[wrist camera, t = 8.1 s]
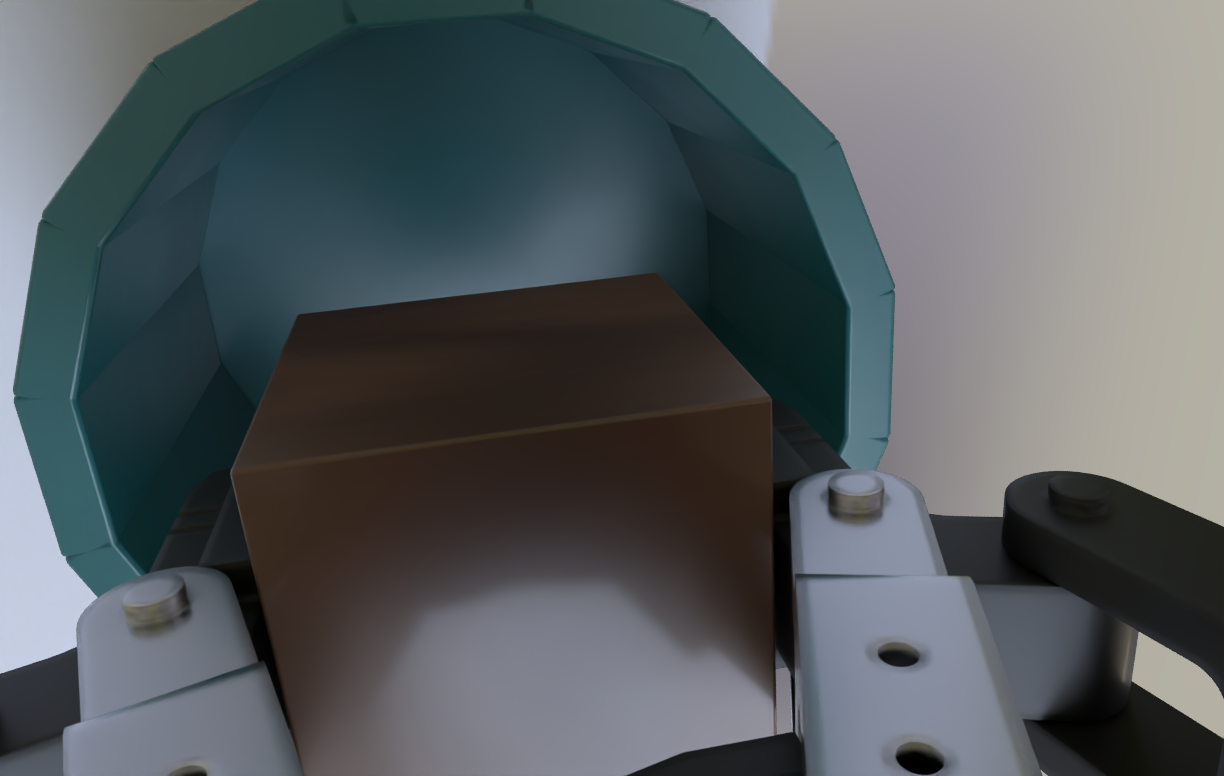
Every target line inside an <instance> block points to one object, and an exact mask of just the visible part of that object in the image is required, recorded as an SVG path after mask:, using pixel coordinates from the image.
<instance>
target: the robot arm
mask: <svg viewBox="0 0 1224 776" xmlns="http://www.w3.org/2000/svg"><path fill="white" fill-rule="evenodd" d="M771 399H772V398H771ZM772 441H773V512H774V583H775V653H776V669H778V668H784V667H787V668H788V669H789V671H790V673H791V726H792V732H790V733H785V734H780V735H774V736H768V737H763V738H758V739H752V740H747V741H742V742H736V743H731V744H726V745H720V746H715V747H709V748H704V749H699V750H693V751H688V752H683V753H680V754H678V755H675V756H673V757H670V758H668V759H666V760H663V761H661V762H658V763H656V764H653V765H651V766H648V767H646V768H643V769H641V770H638V771H636V772H633V773H631V774H628V775H626V776H1042V773H1041V770H1042V771H1043V772H1044V773H1046V774H1047V775H1048V776H1224V739H1223V738H1221V737H1220V736H1218V735H1217V734H1215V733H1213V732H1212V731H1210V730H1209V729H1207V728H1205V727H1204V726H1202V725H1201V724H1199V723H1197V722H1196V721H1194V720H1193V719H1191V718H1189V717H1188V716H1186V715H1185V714H1183V713H1182V712H1180V711H1178V710H1177V709H1175V708H1174V707H1172V706H1170V705H1169V704H1167V703H1166V702H1164V701H1162V700H1161V699H1159V698H1157V697H1156V696H1154V695H1153V694H1151V693H1150V692H1148V691H1146V690H1145V689H1143V688H1142V687H1140V686H1138V685H1137V684H1135V683H1134V682H1132V673H1133V666H1134V660H1135V653H1136V646H1137V639H1138V632H1141V633H1143V634H1145V635H1146V636H1148V637H1150V638H1151V639H1153V640H1155V641H1157V642H1159V643H1160V644H1162V645H1164V646H1165V647H1167V648H1169V649H1171V650H1172V651H1174V652H1176V653H1177V654H1179V655H1181V656H1183V657H1185V658H1186V659H1188V660H1190V661H1191V662H1193V663H1195V664H1196V665H1198V666H1199V667H1200V668H1202V669H1203V670H1204V671H1205V672H1206V673H1207V674H1208V675H1209V676H1210V677H1211V678H1212V679H1213V681H1214V682H1215V683H1216V685H1217V686H1218V688H1219V690H1220V692H1221V693H1222V696H1223V698H1224V527H1223V526H1221V525H1218V524H1216V523H1214V522H1212V521H1209V520H1207V519H1204V518H1202V517H1200V516H1198V515H1195V514H1193V513H1191V512H1189V511H1186V510H1184V509H1181V508H1179V507H1177V506H1175V505H1172V504H1170V503H1168V502H1166V501H1163V500H1161V499H1159V498H1156V497H1154V496H1152V495H1150V494H1147V493H1145V492H1143V491H1140V490H1138V489H1136V488H1133V487H1131V486H1129V485H1127V484H1124V483H1121V482H1119V481H1116V480H1113V479H1110V478H1107V477H1102V476H1098V475H1093V474H1087V473H1081V472H1070V471H1049V472H1040V473H1033V474H1030V475H1026V476H1023V477H1021V478H1018V479H1016V480H1015V481H1013V482H1012V483H1010V485H1009V486H1008V487H1007V488H1006V491H1005V498H1004V510H1003V517H969V516H942V515H934V514H929V513H928V510H927V507H926V504H925V501H924V498H923V496H922V494H921V492H920V491H919V490H918V489H917V488H916V487H915V486H913V485H912V484H911V483H909V482H907V481H906V480H904V479H902V478H899V477H897V476H894V475H890V474H887V473H883V472H878V471H873V470H865V469H851V467H850V466H849V465H848V464H847V463H846V462H845V461H844V460H843V459H842V458H841V457H840V456H839V455H838V454H837V453H836V452H835V451H834V450H833V448H832V447H831V446H830V445H829V444H828V443H827V442H826V441H823V440H822V437H821V436H820V435H819V434H818V433H817V432H816V431H815V429H814V428H810V424H809V423H808V422H807V421H806V420H805V419H804V418H803V417H802V416H801V415H800V414H799V413H798V412H797V410H796V409H795V408H793V407H790V406H788V405H786V404H783V403H781V402H779V401H776V400H774V399H772ZM231 469H232V468H231ZM231 469H224V470H216V471H215V472H213V473H212V474H211V475H209V476H208V477H207V478H206V479H204V480H203V481H202V482H201V483H199V484H198V485H197V486H195V487H194V488H193V489H192V490H190V491H189V493H188V495H187V497H186V499H185V501H184V503H183V505H182V507H181V509H180V511H179V517H176V519H175V521H174V523H173V525H172V527H171V529H170V535H167V537H166V539H165V541H164V543H163V545H162V547H161V549H160V551H159V554H158V556H157V558H156V560H155V562H154V564H153V566H152V568H151V570H150V572H149V573H148V574H145V575H142V576H139V577H136V578H134V579H132V580H129V581H127V582H124V583H122V584H120V585H118V586H116V587H114V588H113V589H111V590H109V591H108V592H106V593H104V594H103V595H101V596H100V597H99V598H97V599H96V600H95V601H93V602H92V603H91V604H90V605H89V606H88V607H87V608H86V609H85V610H84V612H83V613H82V614H81V616H80V618H79V620H78V622H77V628H76V632H77V647H76V648H73V649H71V650H69V651H66V652H64V653H62V654H59V655H56V656H53V657H51V658H48V659H45V660H42V661H39V662H36V663H32V664H29V665H26V666H23V667H20V668H17V669H14V670H11V671H8V672H5V673H2V674H0V776H305V775H304V772H303V769H302V766H301V763H300V760H299V757H298V755H297V752H296V749H295V746H294V742H293V738H292V734H291V730H290V725H289V721H288V717H287V713H286V708H285V704H284V700H283V696H282V691H281V687H280V683H279V679H278V674H277V670H276V666H275V662H274V658H273V653H272V649H271V645H270V641H269V636H268V632H267V628H266V624H265V619H264V615H263V611H262V607H261V602H260V598H259V594H258V590H257V586H256V581H255V577H254V573H253V569H252V564H251V560H250V556H249V552H248V547H247V543H246V539H245V535H244V530H243V526H242V522H241V518H240V514H239V509H238V505H237V501H236V497H235V492H234V488H233V484H232V480H231V475H230V472H231Z"/></svg>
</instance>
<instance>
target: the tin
mask: <svg viewBox="0 0 1224 776" xmlns="http://www.w3.org/2000/svg"><path fill="white" fill-rule="evenodd" d="M42 218H43V219H41V221H40V222H39V223H38V229H37V235H36V242H35V248H34V255H33V261H32V268H31V274H30V281H29V287H28V294H27V300H26V307H25V314H24V320H23V327H22V333H21V340H20V346H19V353H18V359H17V366H16V372H15V379H14V385H13V392H14V395H16V396H15V397H14V404H15V407H16V411H17V414H18V417H19V420H20V423H21V426H22V430H23V433H24V436H25V439H26V442H27V446H28V449H29V452H30V455H31V458H32V461H33V465H34V468H35V471H36V474H37V477H38V480H39V484H40V487H41V490H42V493H43V496H44V500H45V503H46V506H47V509H48V512H49V515H50V519H51V522H52V525H53V528H54V531H55V534H56V538H57V541H58V544H59V547H60V550H61V554H62V555H63V556H66V561H67V563H68V564H69V565H70V567H71V568H72V569H73V570H74V571H75V572H76V573H77V574H78V576H79V577H80V578H81V579H82V580H83V581H84V582H85V583H86V585H87V586H88V587H89V588H90V589H91V590H92V591H93V593H94V594H95V595H96V596H97V597H98V598H99V597H100V596H101V595H103V594H104V593H106V592H108V591H109V590H111V589H113V588H114V587H116V586H118V585H120V584H122V583H124V582H127V581H129V580H132V579H134V578H136V577H139V576H142V575H145V574H148V573H149V572H150V570H151V568H152V566H153V564H154V562H155V560H156V558H157V556H158V554H159V551H160V549H161V547H162V545H163V543H164V541H165V539H166V537H167V535H170V529H171V527H172V525H173V523H174V521H175V519H176V517H179V511H180V509H181V507H182V505H183V503H184V501H185V499H186V497H187V495H188V493H189V491H190V490H192V489H193V488H194V487H195V486H197V485H198V484H199V483H201V482H202V481H203V480H204V479H206V478H207V477H208V476H209V475H211V474H212V473H213V472H215V471H216V470H224V469H231V468H232V466H233V464H234V462H235V459H236V457H237V455H238V452H239V450H240V448H241V445H242V443H243V441H244V438H245V436H246V434H247V431H248V429H249V427H250V424H251V422H252V420H253V417H254V415H255V413H256V410H257V408H258V406H259V403H260V401H261V399H262V396H263V394H264V392H265V389H266V387H267V385H268V382H269V380H270V378H271V375H272V373H273V371H274V368H275V366H276V364H277V361H278V359H279V357H280V354H281V352H282V350H283V347H284V345H285V343H286V340H287V338H288V336H289V333H290V331H291V329H292V326H293V324H294V322H295V319H296V317H297V315H299V314H305V313H314V312H322V311H331V310H340V309H348V308H357V307H365V306H374V305H383V304H391V303H400V302H408V301H417V300H426V299H434V298H443V297H452V296H460V295H469V294H477V293H486V292H495V291H503V290H512V289H520V288H529V287H538V286H546V285H555V284H563V283H572V282H581V281H589V280H598V279H606V278H615V277H624V276H632V275H641V274H650V273H658V274H659V275H660V276H661V277H662V278H663V279H664V280H665V281H666V282H667V283H668V285H669V286H670V287H671V288H672V289H673V290H674V291H675V292H676V293H677V294H678V296H679V297H680V298H681V299H682V300H683V301H684V302H685V303H686V304H687V305H688V307H689V308H690V309H691V310H692V311H693V312H694V313H695V314H696V315H697V316H698V317H699V319H700V320H701V321H702V322H703V323H704V324H705V325H706V326H707V327H708V328H709V330H710V331H711V332H712V333H713V334H714V335H715V336H716V337H717V338H718V339H719V341H720V342H721V343H722V344H723V345H724V346H725V347H726V348H727V349H728V350H729V352H730V353H731V354H732V355H733V356H734V357H735V358H736V359H737V360H738V361H739V362H740V364H741V365H742V366H743V367H744V368H745V369H746V370H747V371H748V372H749V373H750V375H751V376H752V377H753V378H754V379H755V380H756V381H757V382H758V383H759V384H760V386H761V387H762V388H763V389H764V390H765V391H766V392H767V393H768V394H769V395H770V397H771V398H772V399H774V400H776V401H779V402H781V403H783V404H786V405H788V406H790V407H793V408H795V409H796V410H797V412H798V413H799V414H800V415H801V416H802V417H803V418H804V419H805V420H806V421H807V422H808V423H809V424H810V428H814V429H815V431H816V432H817V433H818V434H819V435H820V436H821V437H822V440H823V441H826V442H827V443H828V444H829V445H830V446H831V447H832V448H833V450H834V451H835V452H836V453H837V454H838V455H839V456H840V457H841V458H842V459H843V460H844V461H845V462H846V463H847V464H848V465H849V466H850V467H851V469H865V470H873V471H876V469H877V467H878V465H879V463H880V460H881V458H882V456H883V453H884V451H885V449H886V447H887V444H888V438H887V437H889V435H890V422H891V393H892V363H893V334H894V307H895V306H894V305H895V292H894V291H893V289H894V288H895V285H894V282H893V279H892V277H891V274H890V271H889V269H888V266H887V264H886V261H885V259H884V256H883V253H882V251H881V248H880V246H879V243H878V241H877V238H876V235H875V233H874V230H873V228H872V225H871V223H870V220H869V217H868V215H867V212H866V210H865V207H864V204H863V202H862V199H861V197H860V194H859V192H858V189H857V186H856V184H855V182H854V179H853V176H852V173H851V171H850V168H849V166H848V163H847V161H846V158H845V156H844V153H843V150H842V148H841V146H840V143H839V141H838V140H836V139H835V136H834V134H833V133H832V132H831V131H830V130H829V129H828V128H827V127H826V126H825V125H824V124H823V123H822V122H821V121H820V120H819V119H818V118H817V117H815V115H813V113H811V111H810V110H808V108H806V107H805V106H804V105H803V104H802V103H801V102H800V101H799V100H798V99H797V98H796V97H795V96H794V95H793V94H792V93H791V92H790V91H789V90H788V89H787V88H786V87H785V86H784V85H783V84H782V83H781V82H780V81H779V80H778V79H777V78H776V77H775V76H774V75H773V74H772V73H771V72H770V71H769V70H768V69H767V68H766V67H765V66H764V65H763V64H762V63H761V62H760V61H759V60H758V59H757V58H756V57H755V56H754V55H753V54H752V53H751V52H750V51H749V50H748V49H747V48H746V47H745V46H744V45H743V44H742V43H741V42H740V41H739V40H738V39H737V38H736V37H735V36H734V35H733V34H732V33H731V32H730V31H729V30H728V29H727V28H726V27H725V26H724V25H723V24H722V23H721V22H720V21H719V20H718V19H717V18H714V17H710V15H709V14H708V13H707V12H704V11H701V10H699V9H696V8H693V7H691V6H688V5H685V4H683V3H680V2H677V1H674V0H258V1H256V2H255V3H253V4H251V5H249V6H247V7H245V8H244V9H242V10H240V11H238V12H236V13H234V14H233V15H231V16H229V17H227V18H225V19H223V20H222V21H220V22H218V23H216V24H214V25H212V26H211V27H209V28H207V29H205V30H203V31H201V32H200V33H198V34H196V35H194V36H192V37H190V38H189V39H187V40H185V41H183V42H181V43H179V44H178V45H176V46H174V47H172V48H170V49H168V50H167V51H165V52H163V53H161V54H159V55H158V56H156V57H154V59H153V62H151V63H149V64H148V65H147V66H146V67H145V69H144V70H143V72H142V73H141V74H140V76H139V77H138V79H137V80H136V82H135V83H134V84H133V86H132V87H131V89H130V90H129V91H128V93H127V94H126V96H125V97H124V98H123V100H122V101H121V103H120V104H119V105H118V107H117V108H116V110H115V111H114V112H113V114H112V115H111V117H110V118H109V119H108V121H107V122H106V124H105V125H104V126H103V128H102V129H101V131H100V132H99V133H98V135H97V136H96V138H95V139H94V140H93V142H92V143H91V145H90V146H89V148H88V149H87V150H86V152H85V153H84V155H83V156H82V157H81V159H80V160H79V162H78V163H77V164H76V166H75V167H74V169H73V170H72V171H71V173H70V174H69V176H68V177H67V178H66V180H65V181H64V183H63V184H62V185H61V187H60V188H59V190H58V191H57V192H56V194H55V195H54V197H53V198H52V199H51V201H50V202H49V204H48V205H47V206H46V208H45V209H44V211H43V213H42Z"/></svg>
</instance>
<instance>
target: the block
mask: <svg viewBox="0 0 1224 776" xmlns="http://www.w3.org/2000/svg"><path fill="white" fill-rule="evenodd" d="M230 475H231V480H232V484H233V488H234V492H235V497H236V501H237V505H238V509H239V514H240V518H241V522H242V526H243V530H244V535H245V539H246V543H247V547H248V552H249V556H250V560H251V564H252V569H253V573H254V577H255V581H256V586H257V590H258V594H259V598H260V602H261V607H262V611H263V615H264V619H265V624H266V628H267V632H268V636H269V641H270V645H271V649H272V653H273V658H274V662H275V666H276V670H277V674H278V679H279V683H280V687H281V691H282V696H283V700H284V704H285V708H286V713H287V717H288V721H289V725H290V730H291V734H292V738H293V742H294V746H295V749H296V752H297V755H298V757H299V760H300V763H301V766H302V769H303V772H304V775H305V776H626V775H628V774H631V773H633V772H636V771H638V770H641V769H643V768H646V767H648V766H651V765H653V764H656V763H658V762H661V761H663V760H666V759H668V758H670V757H673V756H675V755H678V754H680V753H683V752H688V751H693V750H699V749H704V748H709V747H715V746H720V745H726V744H731V743H736V742H742V741H747V740H752V739H758V738H763V737H768V736H774V735H777V727H776V653H775V583H774V512H773V441H772V399H771V397H770V395H769V394H768V393H767V392H766V391H765V390H764V389H763V388H762V387H761V386H760V384H759V383H758V382H757V381H756V380H755V379H754V378H753V377H752V376H751V375H750V373H749V372H748V371H747V370H746V369H745V368H744V367H743V366H742V365H741V364H740V362H739V361H738V360H737V359H736V358H735V357H734V356H733V355H732V354H731V353H730V352H729V350H728V349H727V348H726V347H725V346H724V345H723V344H722V343H721V342H720V341H719V339H718V338H717V337H716V336H715V335H714V334H713V333H712V332H711V331H710V330H709V328H708V327H707V326H706V325H705V324H704V323H703V322H702V321H701V320H700V319H699V317H698V316H697V315H696V314H695V313H694V312H693V311H692V310H691V309H690V308H689V307H688V305H687V304H686V303H685V302H684V301H683V300H682V299H681V298H680V297H679V296H678V294H677V293H676V292H675V291H674V290H673V289H672V288H671V287H670V286H669V285H668V283H667V282H666V281H665V280H664V279H663V278H662V277H661V276H660V275H659V274H658V273H650V274H641V275H632V276H624V277H615V278H606V279H598V280H589V281H581V282H572V283H563V284H555V285H546V286H538V287H529V288H520V289H512V290H503V291H495V292H486V293H477V294H469V295H460V296H452V297H443V298H434V299H426V300H417V301H408V302H400V303H391V304H383V305H374V306H365V307H357V308H348V309H340V310H331V311H322V312H314V313H305V314H299V315H297V317H296V319H295V322H294V324H293V326H292V329H291V331H290V333H289V336H288V338H287V340H286V343H285V345H284V347H283V350H282V352H281V354H280V357H279V359H278V361H277V364H276V366H275V368H274V371H273V373H272V375H271V378H270V380H269V382H268V385H267V387H266V389H265V392H264V394H263V396H262V399H261V401H260V403H259V406H258V408H257V410H256V413H255V415H254V417H253V420H252V422H251V424H250V427H249V429H248V431H247V434H246V436H245V438H244V441H243V443H242V445H241V448H240V450H239V452H238V455H237V457H236V459H235V462H234V464H233V466H232V469H231V472H230Z"/></svg>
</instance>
